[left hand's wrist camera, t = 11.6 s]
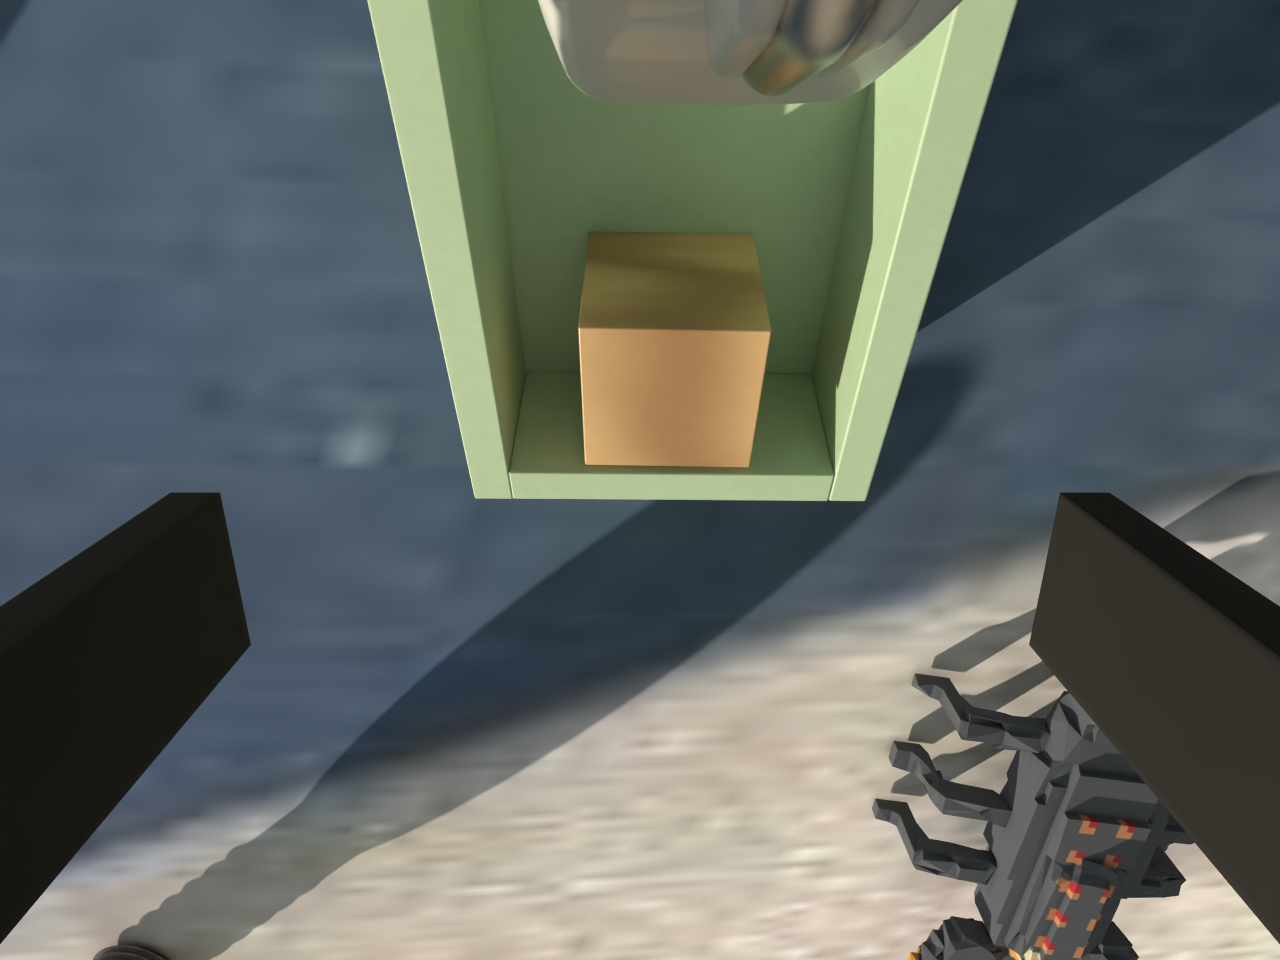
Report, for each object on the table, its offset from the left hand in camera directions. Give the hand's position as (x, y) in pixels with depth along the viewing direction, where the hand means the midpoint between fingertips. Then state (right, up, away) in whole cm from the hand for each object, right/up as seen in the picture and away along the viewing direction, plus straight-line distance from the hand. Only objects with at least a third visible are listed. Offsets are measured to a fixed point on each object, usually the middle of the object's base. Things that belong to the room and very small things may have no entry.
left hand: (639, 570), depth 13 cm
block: (+1, +7, +13) cm, 15 cm away
